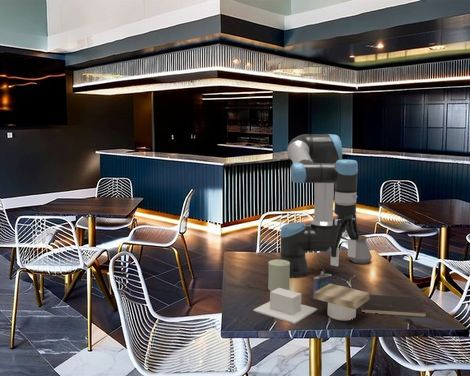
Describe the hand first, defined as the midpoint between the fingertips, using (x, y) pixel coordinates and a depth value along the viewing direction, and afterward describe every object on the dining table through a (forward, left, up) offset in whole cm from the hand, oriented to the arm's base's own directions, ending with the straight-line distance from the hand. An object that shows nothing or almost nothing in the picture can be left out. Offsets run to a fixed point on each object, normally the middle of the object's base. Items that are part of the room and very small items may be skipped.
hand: (343, 261), depth 171 cm
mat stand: (-18, -10, -20) cm, 29 cm away
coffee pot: (-27, +64, -21) cm, 72 cm away
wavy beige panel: (0, 0, -14) cm, 14 cm away
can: (-33, +8, -21) cm, 40 cm away
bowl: (0, 0, -20) cm, 20 cm away
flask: (-14, +11, -21) cm, 27 cm away
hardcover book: (+11, +19, -21) cm, 30 cm away
